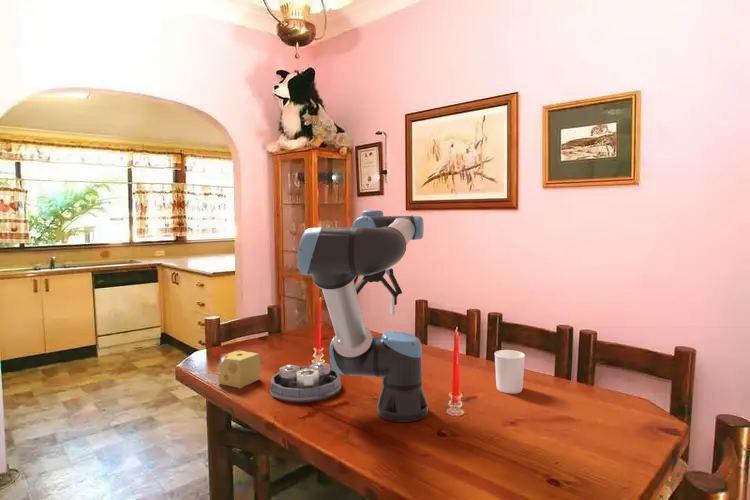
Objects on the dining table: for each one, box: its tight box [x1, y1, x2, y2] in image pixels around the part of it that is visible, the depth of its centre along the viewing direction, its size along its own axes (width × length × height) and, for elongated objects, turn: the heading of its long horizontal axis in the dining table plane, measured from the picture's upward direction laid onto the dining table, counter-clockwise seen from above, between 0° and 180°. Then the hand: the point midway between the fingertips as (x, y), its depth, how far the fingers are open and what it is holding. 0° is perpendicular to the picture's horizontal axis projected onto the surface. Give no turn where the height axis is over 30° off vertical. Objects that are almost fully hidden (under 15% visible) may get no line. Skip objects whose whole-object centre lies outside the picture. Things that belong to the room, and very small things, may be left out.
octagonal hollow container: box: [296, 369, 319, 389], centre depth 153 cm, size 7×7×6 cm
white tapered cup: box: [494, 349, 526, 394], centre depth 156 cm, size 10×10×12 cm
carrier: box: [269, 361, 342, 404], centre depth 159 cm, size 24×24×8 cm
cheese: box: [217, 349, 261, 389], centre depth 166 cm, size 10×11×10 cm
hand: (373, 315), depth 163 cm, fingers open, 13 cm apart
